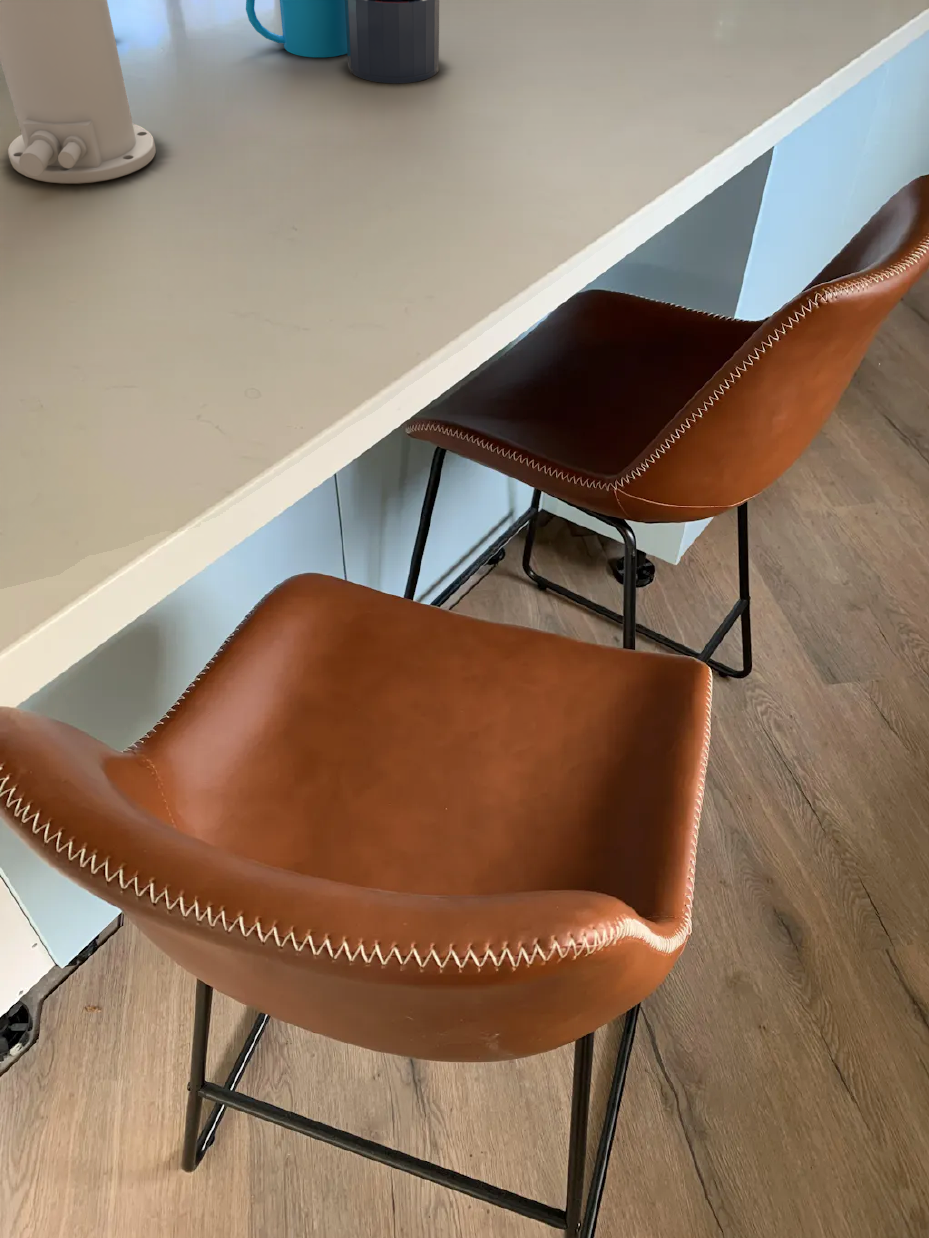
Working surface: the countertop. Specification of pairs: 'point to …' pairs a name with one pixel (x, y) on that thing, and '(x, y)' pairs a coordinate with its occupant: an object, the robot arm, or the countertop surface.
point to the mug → (308, 27)
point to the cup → (392, 39)
